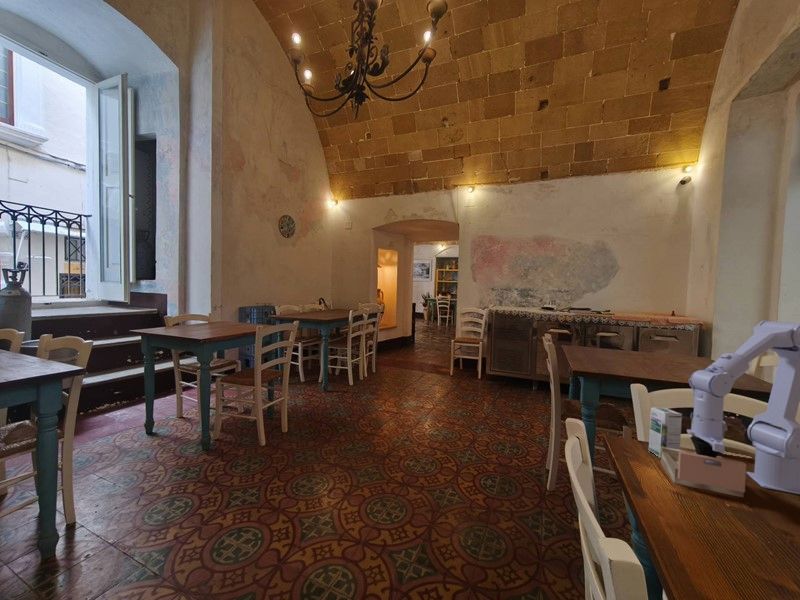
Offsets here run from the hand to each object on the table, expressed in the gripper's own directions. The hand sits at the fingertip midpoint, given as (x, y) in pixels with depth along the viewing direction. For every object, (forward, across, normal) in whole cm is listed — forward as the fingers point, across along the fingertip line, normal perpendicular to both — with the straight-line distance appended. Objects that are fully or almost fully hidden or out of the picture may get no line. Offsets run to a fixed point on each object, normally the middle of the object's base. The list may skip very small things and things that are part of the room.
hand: (705, 467), depth 89 cm
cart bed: (+5, -4, 0) cm, 6 cm away
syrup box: (+5, -16, -5) cm, 18 cm away
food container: (+5, -30, +12) cm, 33 cm away
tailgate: (+3, +3, 0) cm, 4 cm away
